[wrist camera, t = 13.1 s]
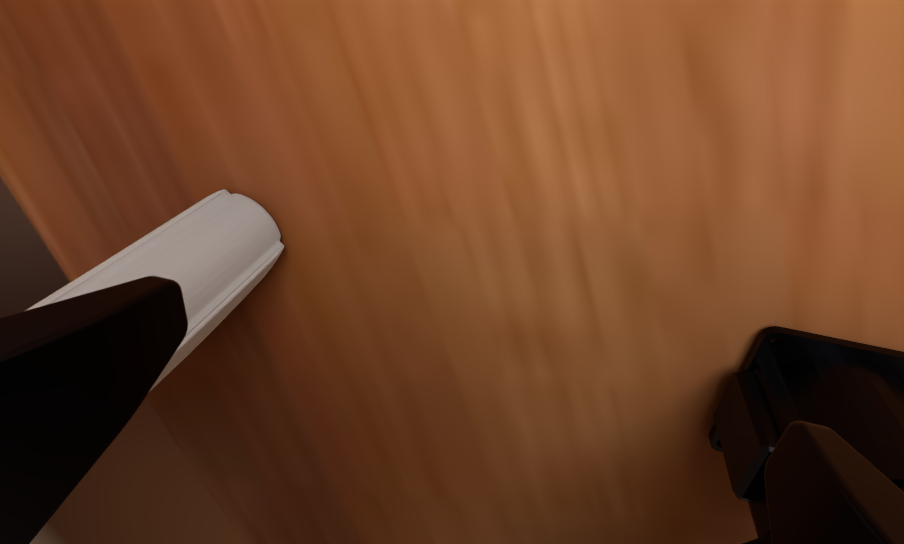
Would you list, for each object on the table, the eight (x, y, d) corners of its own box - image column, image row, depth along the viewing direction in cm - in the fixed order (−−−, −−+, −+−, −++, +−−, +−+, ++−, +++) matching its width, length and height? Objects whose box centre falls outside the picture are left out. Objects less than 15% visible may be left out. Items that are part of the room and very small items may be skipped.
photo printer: (194, 347, 28) (-37, 571, 18) (128, 290, 27) (-156, 493, 17) (305, 242, 23) (76, 469, 13) (230, 168, 22) (-84, 350, 12)
